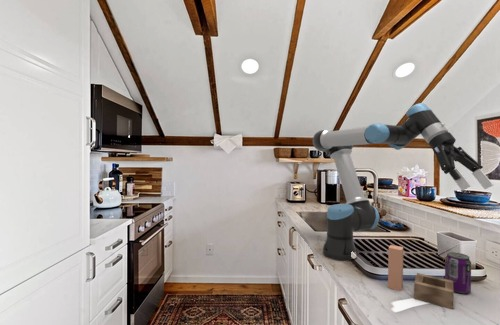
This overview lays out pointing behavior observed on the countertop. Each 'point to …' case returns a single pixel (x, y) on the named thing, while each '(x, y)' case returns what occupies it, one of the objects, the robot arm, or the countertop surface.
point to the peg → (395, 267)
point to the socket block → (434, 290)
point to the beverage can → (458, 271)
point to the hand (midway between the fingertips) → (478, 187)
